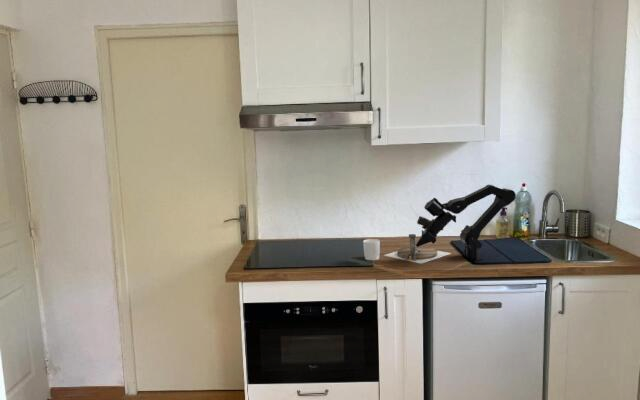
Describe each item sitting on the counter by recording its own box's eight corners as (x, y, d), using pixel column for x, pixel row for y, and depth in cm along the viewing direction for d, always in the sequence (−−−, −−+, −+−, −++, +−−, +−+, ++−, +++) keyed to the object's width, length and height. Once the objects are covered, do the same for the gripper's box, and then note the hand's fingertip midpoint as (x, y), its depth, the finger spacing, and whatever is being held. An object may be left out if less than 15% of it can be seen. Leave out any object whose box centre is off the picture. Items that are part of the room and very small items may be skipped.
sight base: (451, 256, 242) (451, 248, 242) (421, 266, 228) (420, 258, 227) (414, 249, 260) (414, 242, 259) (383, 258, 245) (383, 250, 245)
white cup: (381, 259, 244) (380, 238, 242) (379, 263, 236) (378, 242, 235) (364, 259, 245) (364, 239, 244) (362, 263, 238) (362, 242, 236)
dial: (443, 257, 235) (442, 233, 233) (403, 260, 233) (402, 236, 231) (430, 247, 254) (429, 226, 252) (393, 250, 252) (392, 228, 250)
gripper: (426, 207, 241) (403, 230, 244) (428, 214, 223) (403, 238, 226) (443, 223, 240) (420, 245, 244) (446, 231, 222) (421, 255, 226)
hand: (416, 246), depth 235 cm, fingers closed
